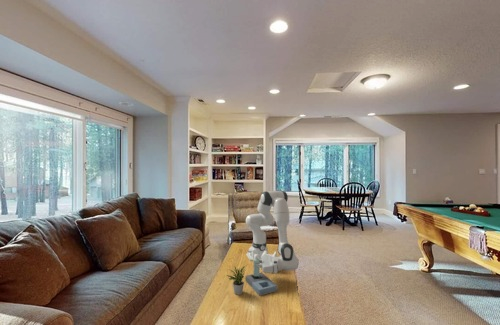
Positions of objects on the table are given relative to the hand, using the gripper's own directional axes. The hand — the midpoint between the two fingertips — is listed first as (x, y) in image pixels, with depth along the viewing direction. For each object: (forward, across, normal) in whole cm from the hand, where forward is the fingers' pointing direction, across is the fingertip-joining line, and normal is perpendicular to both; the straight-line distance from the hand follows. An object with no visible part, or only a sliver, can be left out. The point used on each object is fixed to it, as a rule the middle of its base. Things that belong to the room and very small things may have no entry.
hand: (255, 263), depth 168 cm
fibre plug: (-1, 0, +8) cm, 8 cm away
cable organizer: (-12, -22, +13) cm, 28 cm away
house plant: (+11, +13, +13) cm, 22 cm away
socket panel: (-4, +6, +13) cm, 14 cm away
